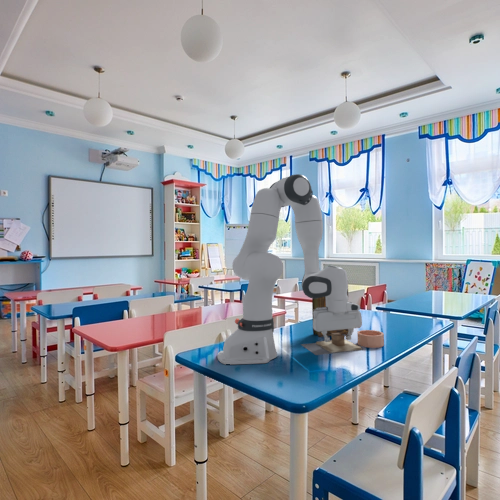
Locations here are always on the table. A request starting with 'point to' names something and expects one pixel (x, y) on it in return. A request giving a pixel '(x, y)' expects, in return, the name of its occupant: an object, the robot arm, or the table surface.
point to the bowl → (370, 338)
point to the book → (322, 303)
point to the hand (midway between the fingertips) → (337, 340)
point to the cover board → (338, 349)
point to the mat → (320, 349)
